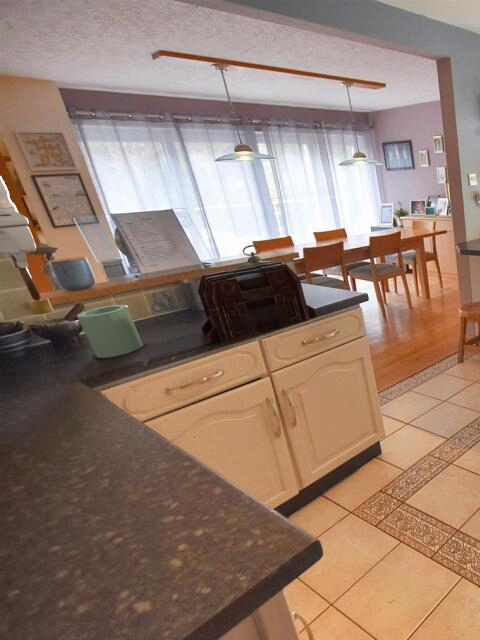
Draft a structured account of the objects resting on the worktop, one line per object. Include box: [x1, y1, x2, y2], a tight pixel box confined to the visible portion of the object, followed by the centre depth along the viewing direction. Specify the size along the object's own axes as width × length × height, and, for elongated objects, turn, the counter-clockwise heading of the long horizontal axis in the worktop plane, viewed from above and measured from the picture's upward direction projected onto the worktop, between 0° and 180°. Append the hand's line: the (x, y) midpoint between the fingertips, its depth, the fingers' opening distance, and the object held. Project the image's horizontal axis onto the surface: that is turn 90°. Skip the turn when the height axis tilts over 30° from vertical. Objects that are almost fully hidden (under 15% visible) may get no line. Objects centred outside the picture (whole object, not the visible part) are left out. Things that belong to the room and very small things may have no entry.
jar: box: [76, 304, 144, 359], centre depth 142 cm, size 12×12×14 cm
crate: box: [197, 261, 317, 344], centre depth 157 cm, size 35×19×21 cm, turn 133°
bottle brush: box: [11, 255, 54, 316], centre depth 131 cm, size 4×4×18 cm
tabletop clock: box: [236, 244, 274, 270], centre depth 185 cm, size 14×9×25 cm, turn 147°
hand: (21, 267), depth 129 cm, fingers closed on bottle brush, 2 cm apart
